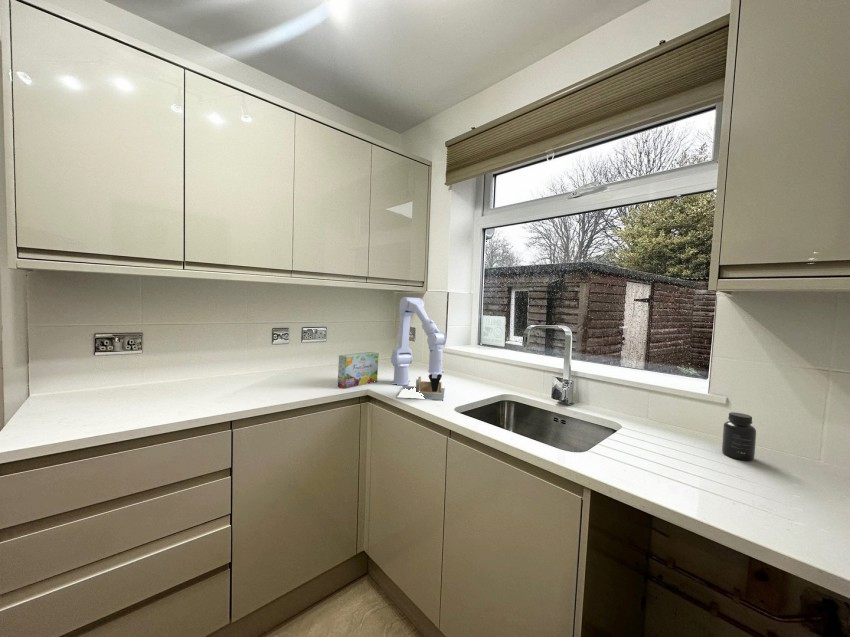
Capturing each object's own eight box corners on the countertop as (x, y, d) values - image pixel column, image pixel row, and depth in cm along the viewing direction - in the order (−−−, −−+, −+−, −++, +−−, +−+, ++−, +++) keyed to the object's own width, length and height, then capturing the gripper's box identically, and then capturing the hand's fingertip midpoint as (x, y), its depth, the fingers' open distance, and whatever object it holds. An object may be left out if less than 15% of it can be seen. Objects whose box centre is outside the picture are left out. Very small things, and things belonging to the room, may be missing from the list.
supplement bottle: (718, 449, 101) (721, 409, 100) (749, 455, 97) (752, 413, 97) (724, 457, 95) (728, 415, 94) (758, 464, 91) (761, 420, 91)
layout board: (403, 386, 163) (403, 374, 163) (444, 389, 161) (445, 376, 161) (395, 397, 143) (396, 383, 143) (443, 400, 141) (443, 386, 141)
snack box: (345, 389, 155) (345, 356, 154) (337, 387, 158) (338, 354, 157) (378, 381, 171) (379, 352, 171) (370, 380, 175) (371, 351, 174)
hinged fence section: (419, 391, 151) (419, 381, 151) (419, 391, 153) (420, 381, 153) (441, 392, 151) (441, 382, 151) (441, 392, 152) (441, 382, 152)
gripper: (444, 363, 138) (443, 396, 139) (445, 358, 153) (444, 387, 153) (427, 362, 139) (426, 395, 140) (429, 357, 153) (428, 387, 154)
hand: (434, 391), depth 147 cm, fingers closed
